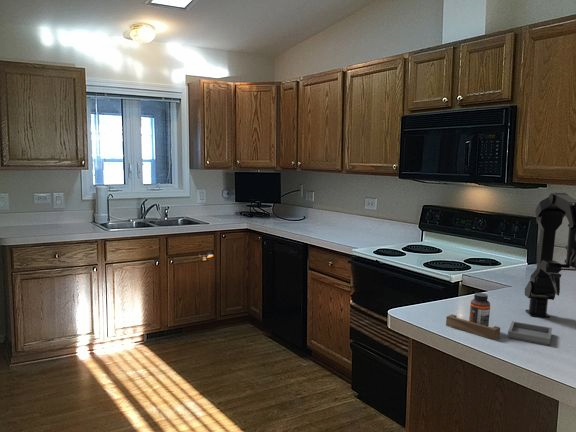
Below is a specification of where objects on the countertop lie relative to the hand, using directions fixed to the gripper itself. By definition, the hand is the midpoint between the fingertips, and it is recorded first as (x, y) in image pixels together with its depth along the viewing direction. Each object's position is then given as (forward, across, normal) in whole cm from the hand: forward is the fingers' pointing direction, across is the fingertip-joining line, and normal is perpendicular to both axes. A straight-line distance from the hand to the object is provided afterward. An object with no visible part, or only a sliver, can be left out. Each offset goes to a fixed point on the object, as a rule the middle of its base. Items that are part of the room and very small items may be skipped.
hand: (574, 296), depth 149 cm
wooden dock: (+14, -27, +5) cm, 31 cm away
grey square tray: (+14, -10, +4) cm, 18 cm away
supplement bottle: (+14, -25, +8) cm, 30 cm away
